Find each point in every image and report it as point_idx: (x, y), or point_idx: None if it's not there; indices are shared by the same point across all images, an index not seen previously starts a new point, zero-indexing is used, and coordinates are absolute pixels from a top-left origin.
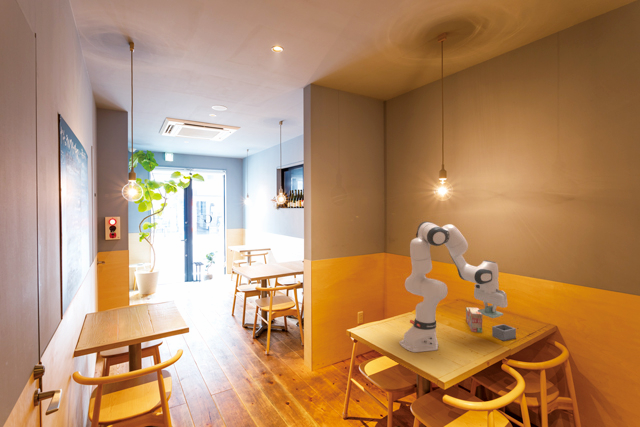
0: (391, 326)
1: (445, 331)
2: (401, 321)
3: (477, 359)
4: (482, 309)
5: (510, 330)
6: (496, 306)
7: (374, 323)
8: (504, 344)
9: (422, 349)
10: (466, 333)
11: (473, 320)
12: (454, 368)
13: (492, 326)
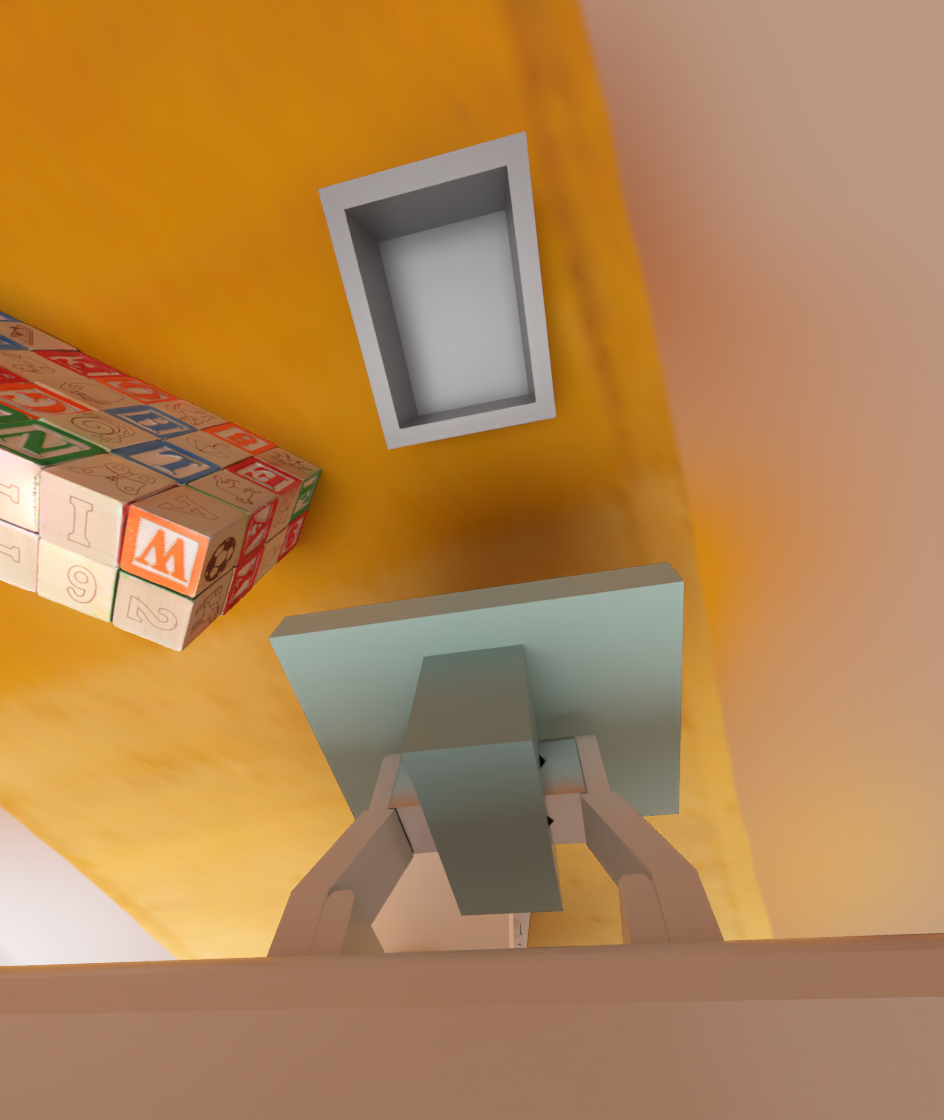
0: (204, 907)
1: (282, 718)
2: (116, 847)
3: (704, 778)
4: (348, 769)
5: (540, 280)
6: (687, 877)
7: (166, 943)
8: (601, 458)
9: (524, 931)
10: (329, 609)
11: (240, 586)
12: (721, 898)
13: (387, 446)
